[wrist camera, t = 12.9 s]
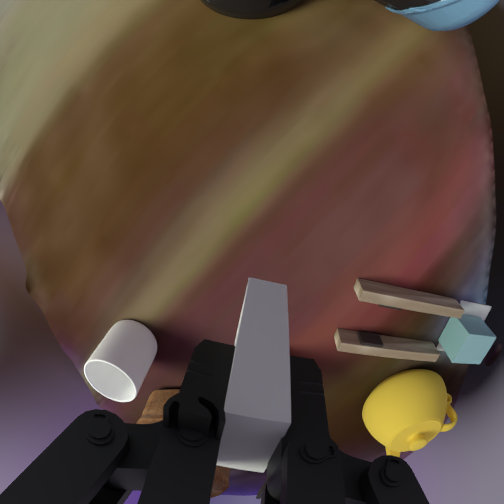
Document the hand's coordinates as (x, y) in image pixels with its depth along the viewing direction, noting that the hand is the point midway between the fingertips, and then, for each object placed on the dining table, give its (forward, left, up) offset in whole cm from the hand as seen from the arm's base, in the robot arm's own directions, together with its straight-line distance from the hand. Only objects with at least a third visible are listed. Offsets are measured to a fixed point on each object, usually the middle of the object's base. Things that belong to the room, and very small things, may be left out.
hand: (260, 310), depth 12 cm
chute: (+14, +23, -26) cm, 38 cm away
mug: (+29, -18, -27) cm, 43 cm away
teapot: (+32, +34, -27) cm, 54 cm away
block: (+14, +36, -26) cm, 47 cm away
